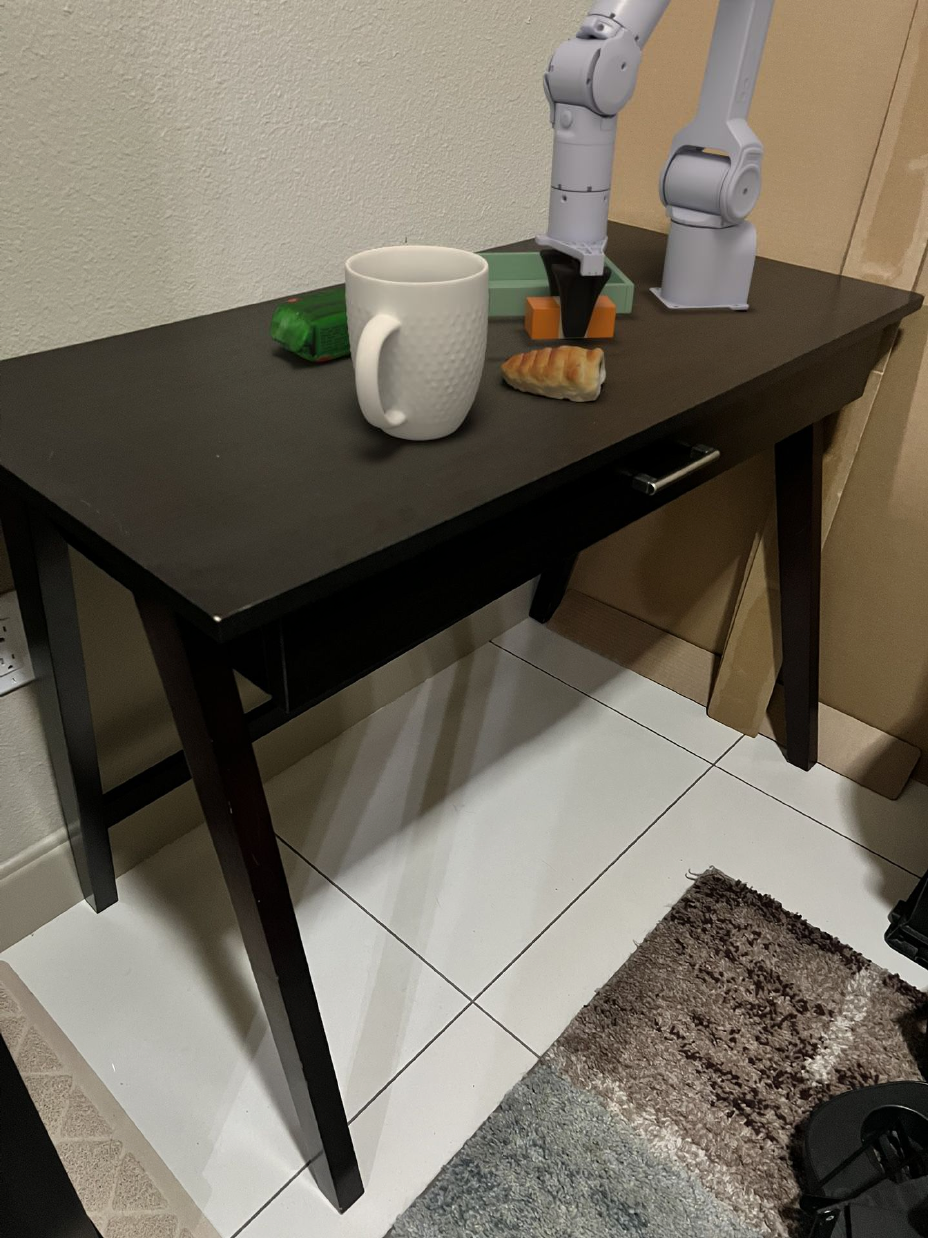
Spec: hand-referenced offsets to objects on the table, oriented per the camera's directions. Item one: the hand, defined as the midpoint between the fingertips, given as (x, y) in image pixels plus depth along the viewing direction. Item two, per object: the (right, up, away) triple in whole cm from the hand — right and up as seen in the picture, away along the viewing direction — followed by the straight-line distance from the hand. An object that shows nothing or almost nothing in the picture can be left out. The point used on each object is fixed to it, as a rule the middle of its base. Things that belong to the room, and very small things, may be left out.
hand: (568, 329), depth 96 cm
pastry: (-2, -9, -11) cm, 15 cm away
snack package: (-23, -3, -3) cm, 23 cm away
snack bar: (0, -1, 0) cm, 1 cm away
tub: (-2, +7, +11) cm, 13 cm away
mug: (-15, -15, -19) cm, 28 cm away
